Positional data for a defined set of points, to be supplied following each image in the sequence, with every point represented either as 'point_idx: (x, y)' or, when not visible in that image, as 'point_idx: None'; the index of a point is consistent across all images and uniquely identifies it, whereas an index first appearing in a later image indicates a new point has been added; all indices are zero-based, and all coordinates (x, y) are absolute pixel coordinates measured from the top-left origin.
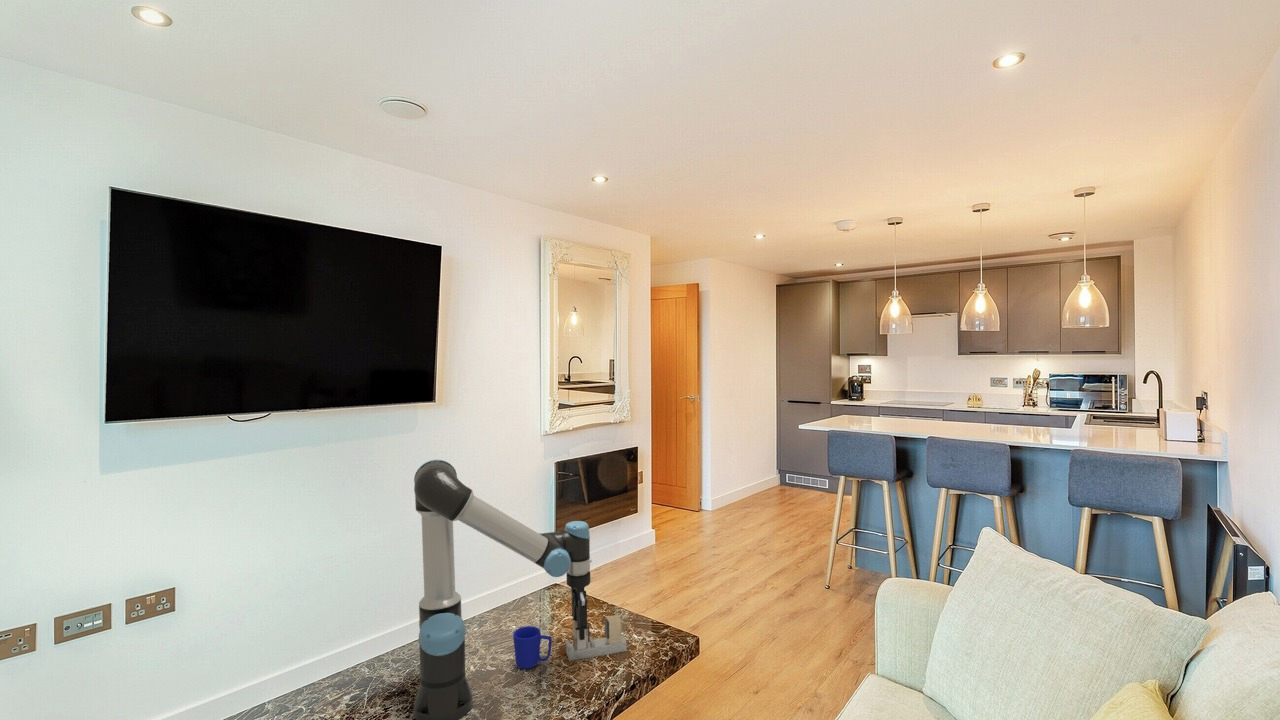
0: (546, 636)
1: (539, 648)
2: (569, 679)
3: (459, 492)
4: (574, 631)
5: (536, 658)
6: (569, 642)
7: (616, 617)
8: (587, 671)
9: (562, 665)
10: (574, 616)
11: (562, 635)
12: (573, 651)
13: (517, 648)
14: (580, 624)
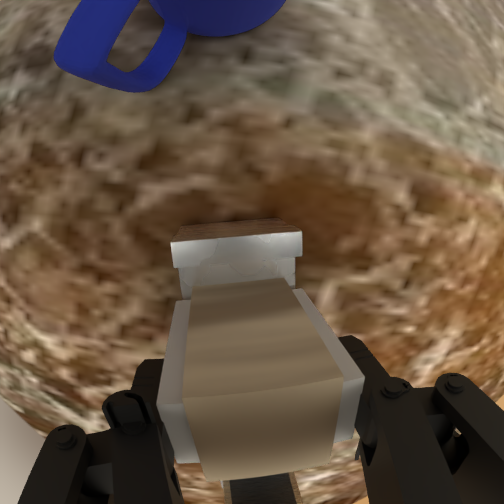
0: (96, 9)
1: (174, 4)
2: (13, 211)
3: None
4: (228, 351)
5: (158, 11)
6: (259, 259)
7: None
8: (67, 306)
9: (143, 180)
10: (380, 426)
11: (456, 223)
12: (179, 269)
13: None
14: (36, 482)
